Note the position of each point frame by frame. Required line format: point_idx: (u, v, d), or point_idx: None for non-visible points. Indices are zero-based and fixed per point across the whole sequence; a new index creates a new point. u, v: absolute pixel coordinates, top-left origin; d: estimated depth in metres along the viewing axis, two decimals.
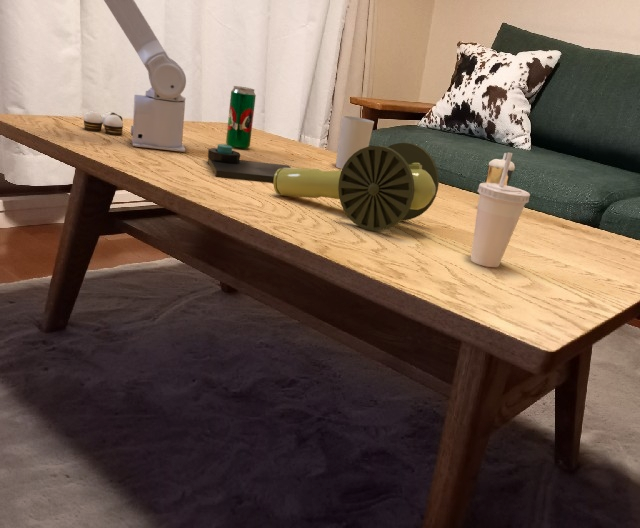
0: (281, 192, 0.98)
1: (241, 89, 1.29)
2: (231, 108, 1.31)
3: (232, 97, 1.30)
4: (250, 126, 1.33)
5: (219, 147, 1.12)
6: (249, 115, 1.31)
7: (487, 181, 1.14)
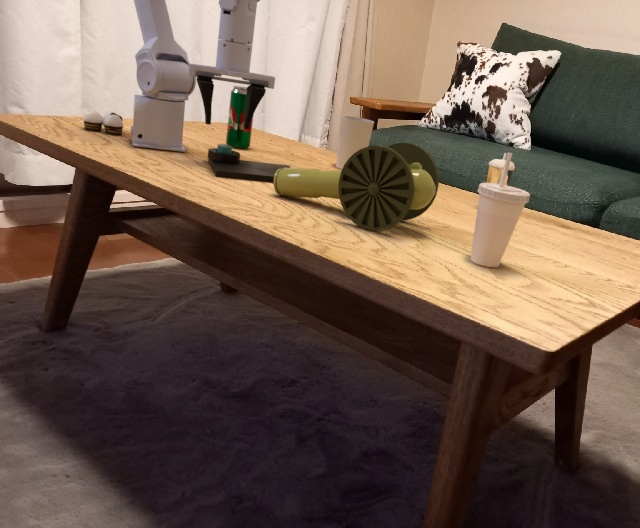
0: (281, 192, 0.98)
1: (241, 89, 1.29)
2: (231, 108, 1.31)
3: (232, 97, 1.30)
4: (250, 126, 1.33)
5: (219, 147, 1.12)
6: None
7: (487, 181, 1.14)
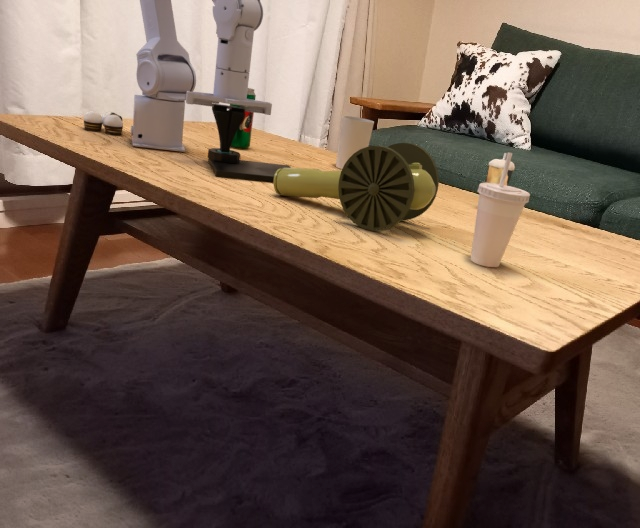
0: (281, 192, 0.98)
1: None
2: None
3: None
4: (250, 126, 1.33)
5: None
6: (249, 115, 1.31)
7: (487, 181, 1.14)
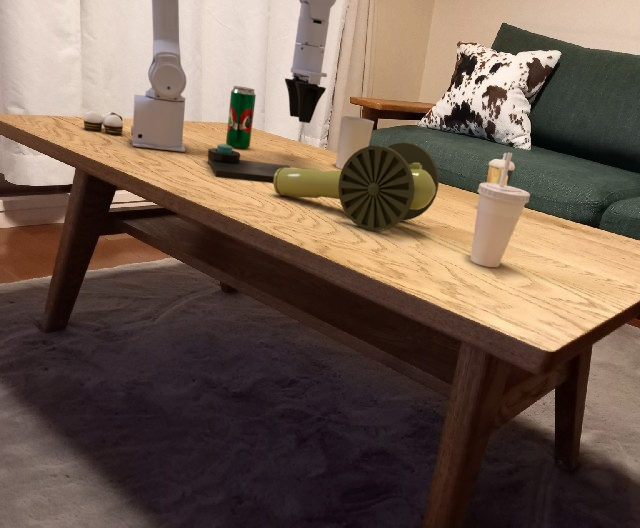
0: (281, 192, 0.98)
1: (241, 89, 1.29)
2: (231, 108, 1.31)
3: (232, 97, 1.30)
4: (250, 126, 1.33)
5: (219, 147, 1.12)
6: (249, 115, 1.31)
7: (487, 181, 1.14)
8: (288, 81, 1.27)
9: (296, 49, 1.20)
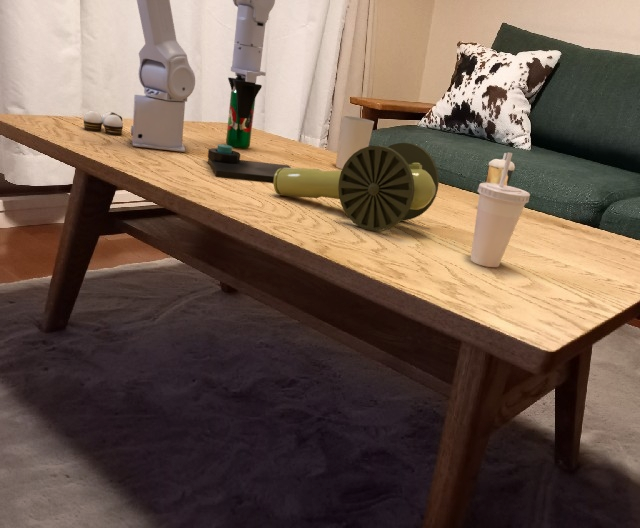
0: (281, 192, 0.98)
1: None
2: (231, 108, 1.31)
3: (232, 97, 1.30)
4: (250, 126, 1.33)
5: (219, 147, 1.12)
6: (249, 115, 1.31)
7: (487, 181, 1.14)
8: (230, 80, 1.32)
9: (235, 49, 1.27)
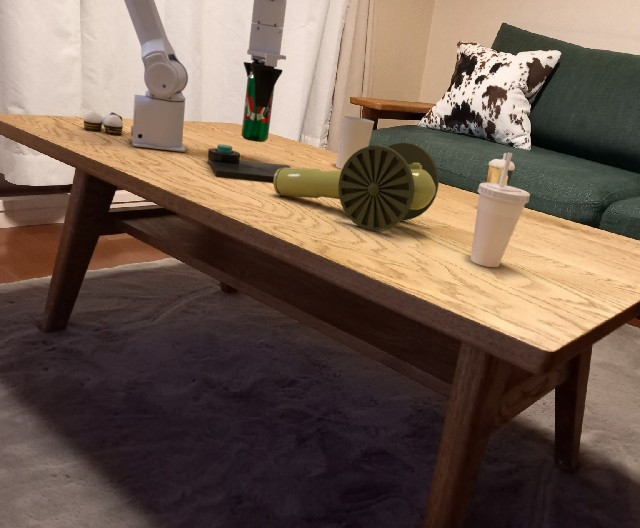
0: (281, 192, 0.98)
1: None
2: (248, 96, 1.17)
3: (249, 83, 1.16)
4: (269, 116, 1.19)
5: (219, 147, 1.12)
6: (268, 104, 1.18)
7: (487, 181, 1.14)
8: (247, 64, 1.18)
9: (252, 29, 1.13)
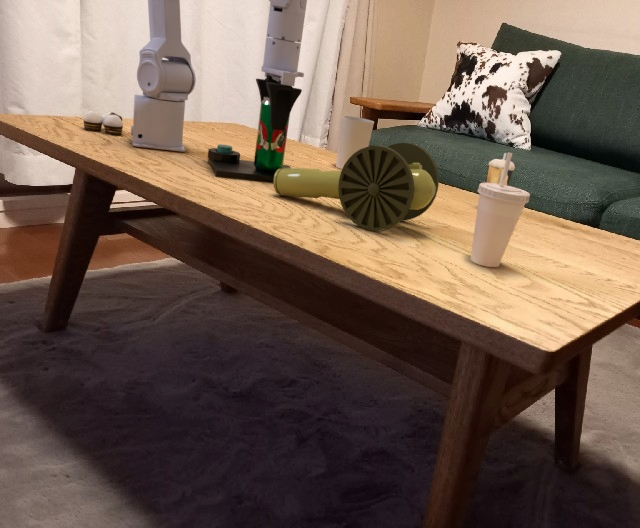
0: (281, 192, 0.98)
1: None
2: (261, 123, 1.07)
3: (262, 110, 1.07)
4: (284, 145, 1.09)
5: (219, 147, 1.12)
6: (283, 132, 1.08)
7: (487, 181, 1.14)
8: (259, 82, 1.09)
9: (267, 44, 1.03)
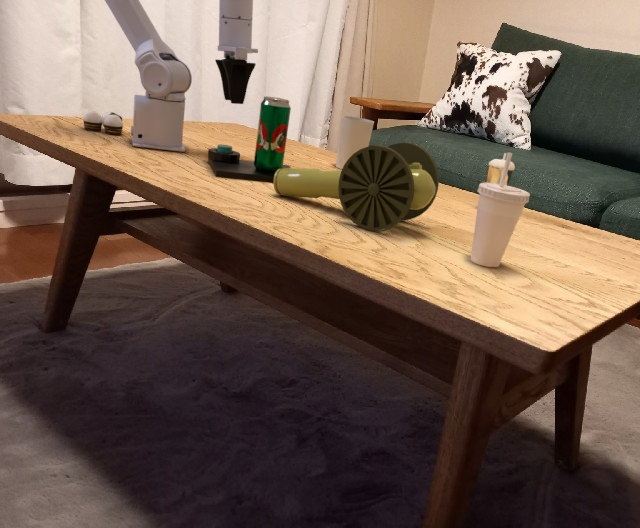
0: (281, 192, 0.98)
1: (274, 100, 1.05)
2: (261, 123, 1.07)
3: (262, 110, 1.07)
4: (284, 145, 1.09)
5: (219, 147, 1.12)
6: (283, 132, 1.08)
7: (487, 181, 1.14)
8: (218, 62, 1.17)
9: (220, 24, 1.10)
